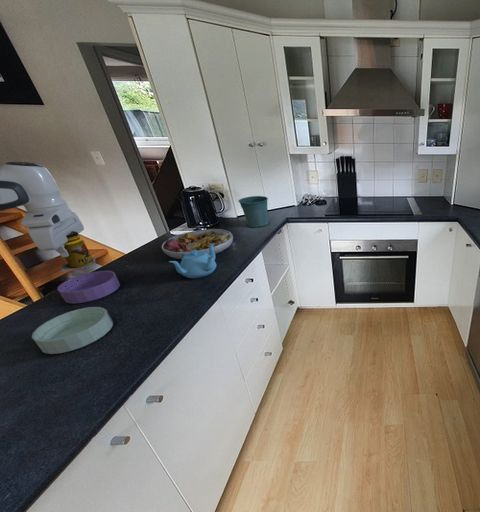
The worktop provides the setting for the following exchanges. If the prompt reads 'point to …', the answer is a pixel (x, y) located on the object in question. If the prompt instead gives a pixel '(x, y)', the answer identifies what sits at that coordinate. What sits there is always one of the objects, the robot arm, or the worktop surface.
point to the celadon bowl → (72, 330)
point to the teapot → (196, 263)
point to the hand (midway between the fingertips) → (71, 251)
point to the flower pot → (255, 210)
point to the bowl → (197, 242)
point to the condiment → (76, 253)
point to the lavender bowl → (89, 287)
